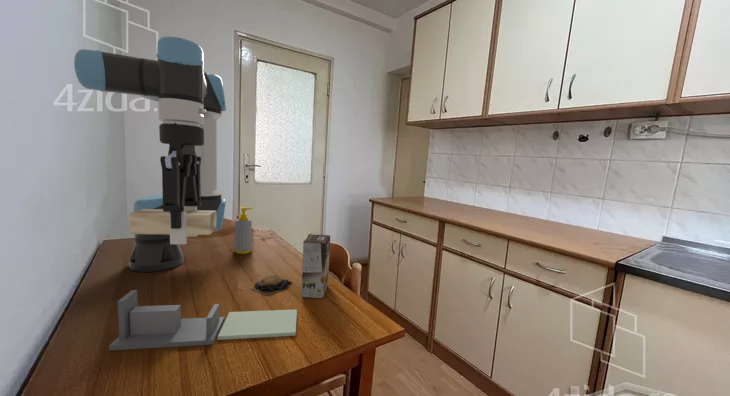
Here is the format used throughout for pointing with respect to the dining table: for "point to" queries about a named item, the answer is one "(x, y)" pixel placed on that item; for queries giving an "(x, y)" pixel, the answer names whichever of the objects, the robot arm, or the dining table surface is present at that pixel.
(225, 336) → the sage mat
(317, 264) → the coffee box
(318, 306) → the dining table surface
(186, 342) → the cradle
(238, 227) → the soap bottle
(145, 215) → the maple bar
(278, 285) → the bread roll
